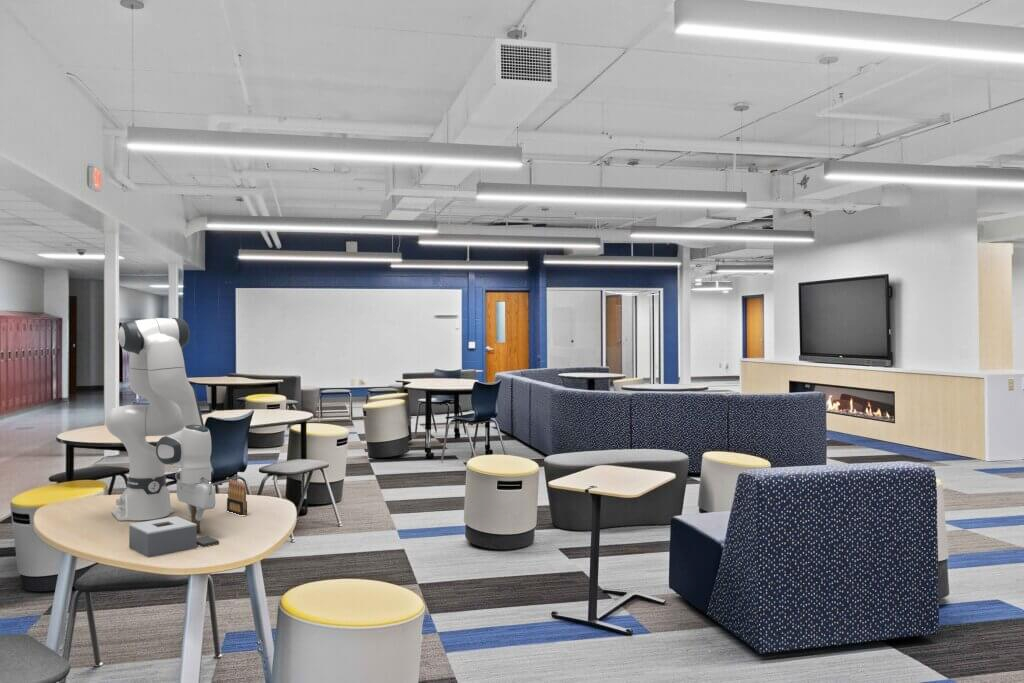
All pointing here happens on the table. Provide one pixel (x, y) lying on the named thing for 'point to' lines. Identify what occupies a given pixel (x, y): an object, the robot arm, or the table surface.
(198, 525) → the brown rounded rod
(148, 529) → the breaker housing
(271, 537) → the table surface
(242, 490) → the ammunition clip
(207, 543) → the rubber pad
